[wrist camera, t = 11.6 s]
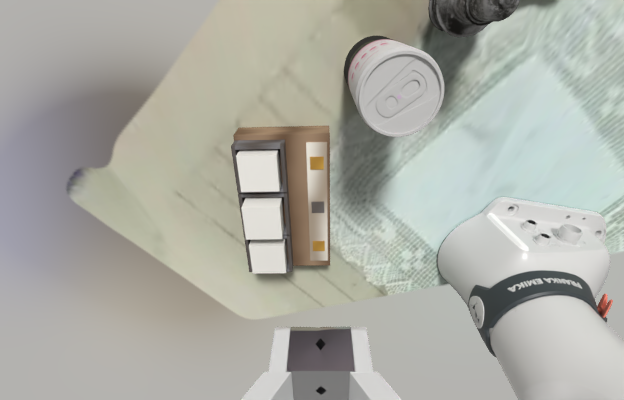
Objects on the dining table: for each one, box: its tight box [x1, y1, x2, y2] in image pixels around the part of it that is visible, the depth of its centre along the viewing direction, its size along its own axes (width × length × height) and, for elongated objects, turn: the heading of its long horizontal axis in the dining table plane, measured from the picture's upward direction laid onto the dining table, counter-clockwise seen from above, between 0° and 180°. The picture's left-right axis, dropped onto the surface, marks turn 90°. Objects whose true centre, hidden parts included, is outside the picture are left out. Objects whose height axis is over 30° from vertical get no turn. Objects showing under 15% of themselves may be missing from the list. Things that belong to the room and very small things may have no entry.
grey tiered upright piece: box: [429, 0, 520, 37], centre depth 30 cm, size 6×6×12 cm
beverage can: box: [344, 36, 444, 137], centre depth 32 cm, size 6×7×15 cm
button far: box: [249, 239, 288, 273], centre depth 45 cm, size 4×4×2 cm
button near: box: [236, 149, 282, 192], centre depth 39 cm, size 4×4×2 cm
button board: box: [231, 126, 330, 272], centre depth 44 cm, size 11×19×5 cm, turn 2°
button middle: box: [241, 197, 284, 240], centre depth 41 cm, size 4×4×2 cm
